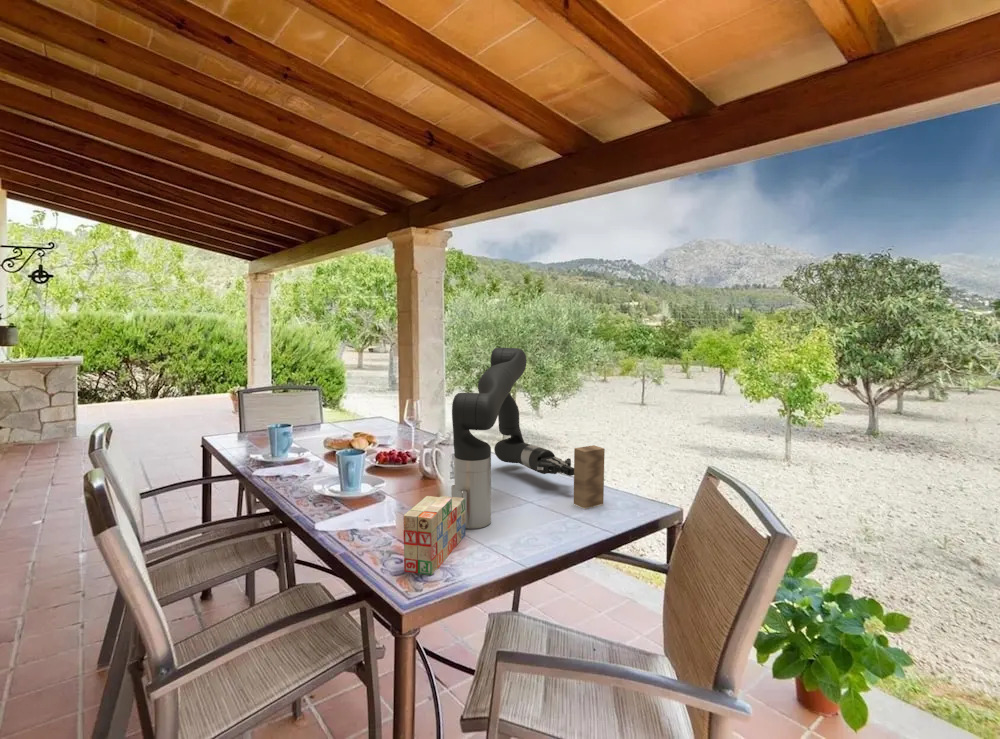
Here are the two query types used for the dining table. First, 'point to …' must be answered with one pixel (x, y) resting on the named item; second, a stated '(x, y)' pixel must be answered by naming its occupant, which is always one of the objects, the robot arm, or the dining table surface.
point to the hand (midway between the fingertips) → (572, 472)
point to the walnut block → (588, 476)
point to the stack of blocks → (432, 532)
